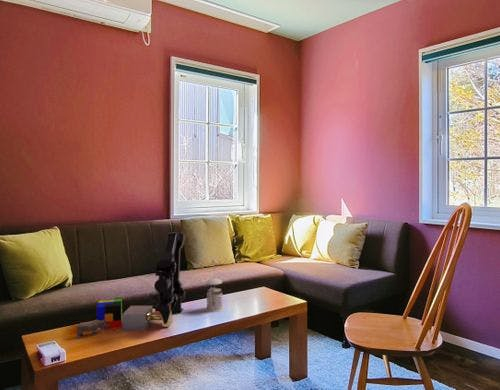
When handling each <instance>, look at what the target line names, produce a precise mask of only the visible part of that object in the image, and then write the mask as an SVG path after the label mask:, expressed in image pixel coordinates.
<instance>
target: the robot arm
mask: <svg viewBox="0 0 500 390" xmlns="http://www.w3.org/2000/svg"><path fill="white" fill-rule="evenodd" d="M185 241H186V234H185V233H183V231H170V232H168V233H166V243H165V247H164V252H163V254H161V255H160V256H159V259H158V260H157V262H156V269H155V274H154V275H155V277H156V276H157V277H158V279H157V280H156V281H155V282H154V286H153V287H154V290H155V291H156V292H154V293H150V294H148V295H147V297H146V302H147V303H148V304H149V305H151V304H153V303H156V302H158V303H156V305H155V306H154V312H155V313H157V312H159V313H160V315H162V318H163V322H164V324H167V321H168V318H169V315H170V313H171V310H172V314H182V312H183V310H184V308H182V301H184V300H186V292H185V289H184V288H183V283H182V281H181V280H180V273H181V269H180V268H181V249H183V246H184V244H185Z"/></svg>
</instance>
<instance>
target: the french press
mask: <svg viewBox="0 0 500 390" xmlns="http://www.w3.org/2000/svg"><path fill="white" fill-rule="evenodd" d="M212 263H213V273H214V275H213V277H214V278H211V279H207V281H206V284H207V285H209V286H210V285H211V287H210V288H208V289H207V292H206V303H207V304H206V307H205V308H204V311H206V312H208V313H219V312H222V311H223V312H224V310H225V307H224V306H223V292H222V291H223V290H222V288H219V287H218V288H217V287H215V286H216V285H221V284H223V281H222V280H221V279H219V278H216V276H215V275H216V274H215V273H216V272H215V271H216V270H215V269H216V268H215V266H216V265H215V264H216V263H217V260H216V259H213V260H212ZM212 286H214V287H212Z"/></svg>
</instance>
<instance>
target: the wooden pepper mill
mask: <svg viewBox="0 0 500 390" xmlns="http://www.w3.org/2000/svg"><path fill="white" fill-rule="evenodd" d="M172 314H173V313H172V310H171V313H170V315H169V318H168V321H167V324H164V322H163V318H162V315H161V314H153V315H151V313H148V322H151V320H153V321H161V327H163V328H164V327H166V328H167V327H170V326H171V324H172V323H173V320H172V319H173V316H172ZM151 323H152V322H151Z"/></svg>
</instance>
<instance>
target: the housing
mask: <svg viewBox="0 0 500 390" xmlns="http://www.w3.org/2000/svg"><path fill="white" fill-rule="evenodd" d="M148 313H151V315H154V313H153V305H130V306H129V307H128V308H127V309H126V310H125V311H124V312H122V324H121V328H122V331H146V330H147V329H148V327H149V326H150V325H151V324H152V322H153V321H154V320H151V322H148Z"/></svg>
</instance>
